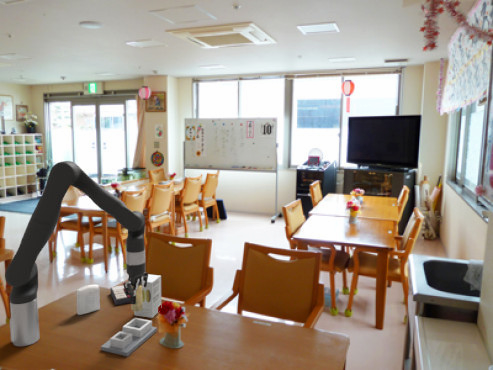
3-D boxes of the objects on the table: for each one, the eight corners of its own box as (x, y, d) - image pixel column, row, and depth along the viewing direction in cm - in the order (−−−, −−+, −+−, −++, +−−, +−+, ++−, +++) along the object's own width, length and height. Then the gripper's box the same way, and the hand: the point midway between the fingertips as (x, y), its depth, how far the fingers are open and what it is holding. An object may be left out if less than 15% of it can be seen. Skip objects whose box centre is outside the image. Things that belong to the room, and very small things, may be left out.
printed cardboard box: (115, 298, 185) (110, 286, 198) (115, 307, 185) (110, 294, 198) (138, 294, 190) (132, 282, 203) (139, 302, 191) (132, 290, 204)
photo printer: (97, 306, 184) (96, 281, 182) (101, 309, 181) (100, 284, 179) (75, 313, 177) (74, 287, 175) (79, 316, 174) (78, 290, 172)
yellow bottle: (129, 310, 157) (128, 282, 155) (135, 305, 161) (135, 278, 159) (138, 312, 155) (137, 283, 154) (145, 307, 159) (144, 279, 158)
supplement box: (133, 315, 175) (132, 280, 173) (143, 306, 184) (142, 273, 182) (153, 318, 173) (152, 282, 171) (162, 309, 182) (161, 275, 180)
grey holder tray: (101, 350, 147) (100, 339, 147) (132, 325, 166) (132, 315, 166) (127, 356, 144) (127, 345, 143) (157, 330, 162) (156, 320, 162)
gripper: (138, 254, 163) (139, 293, 165) (116, 265, 150) (118, 307, 152) (153, 256, 161) (154, 295, 163) (132, 268, 147) (134, 310, 150)
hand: (136, 301), depth 158 cm, fingers closed on yellow bottle, 4 cm apart
